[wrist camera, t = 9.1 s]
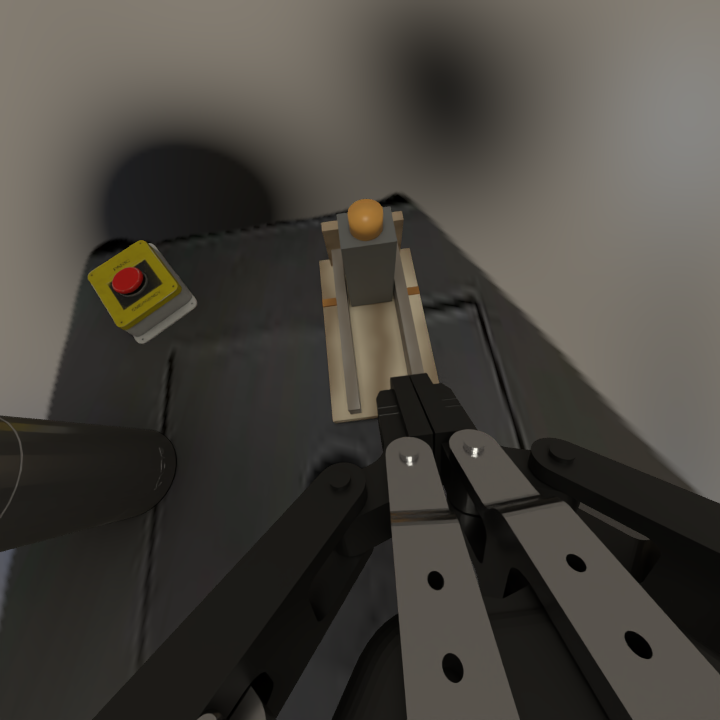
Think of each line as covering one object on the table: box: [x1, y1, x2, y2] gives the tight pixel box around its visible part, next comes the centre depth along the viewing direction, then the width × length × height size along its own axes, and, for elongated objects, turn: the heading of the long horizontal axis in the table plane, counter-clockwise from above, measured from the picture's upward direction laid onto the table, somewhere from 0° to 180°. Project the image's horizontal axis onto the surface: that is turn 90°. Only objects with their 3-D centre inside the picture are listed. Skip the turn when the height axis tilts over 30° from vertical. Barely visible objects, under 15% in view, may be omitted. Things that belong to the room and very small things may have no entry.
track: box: [319, 211, 439, 423], centre depth 31 cm, size 12×21×8 cm, turn 7°
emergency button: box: [88, 240, 197, 344], centre depth 37 cm, size 9×4×15 cm
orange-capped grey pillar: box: [337, 199, 397, 307], centre depth 28 cm, size 5×4×12 cm
